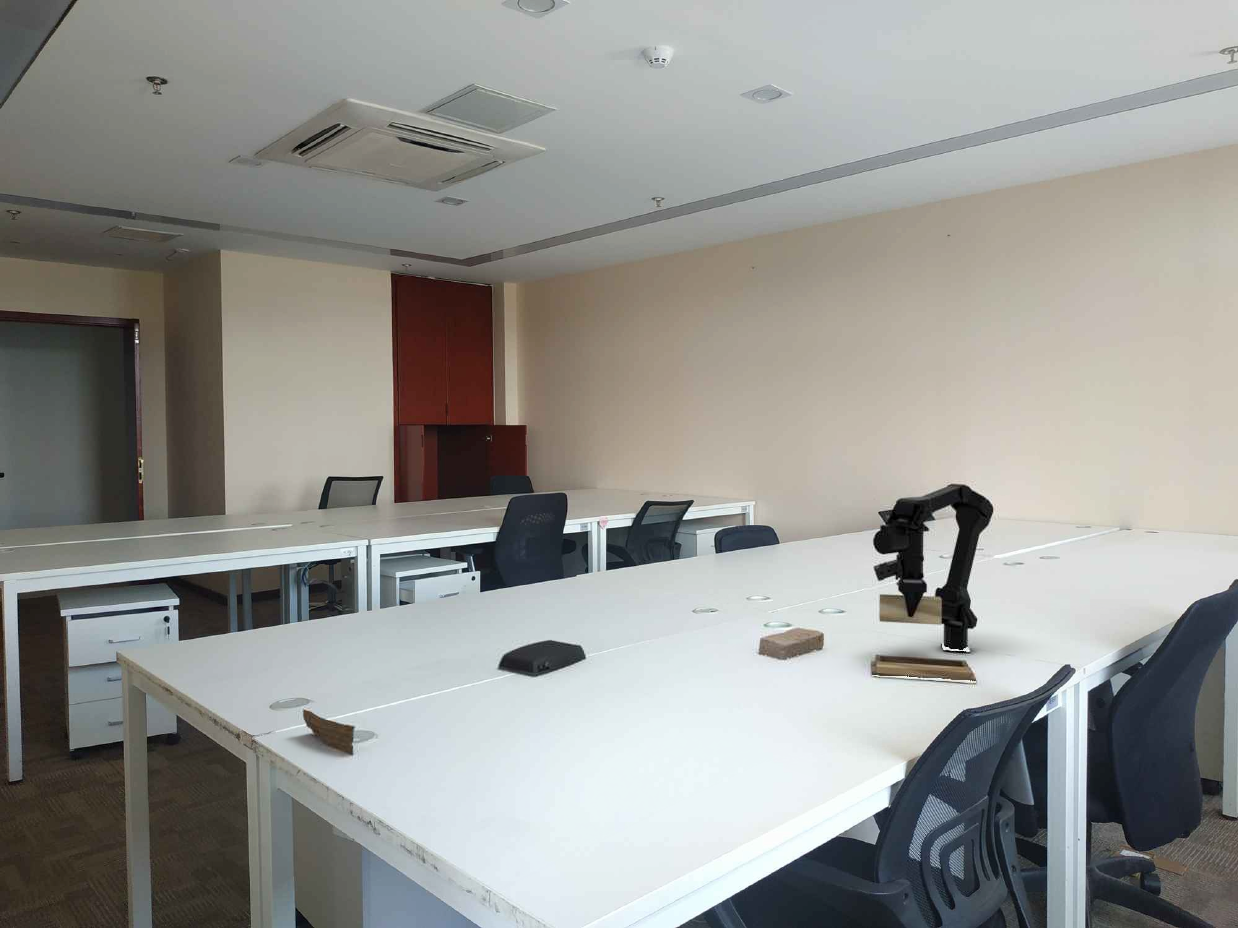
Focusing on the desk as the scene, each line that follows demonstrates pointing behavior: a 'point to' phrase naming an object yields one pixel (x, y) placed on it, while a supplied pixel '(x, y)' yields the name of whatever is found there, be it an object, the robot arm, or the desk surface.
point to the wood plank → (331, 732)
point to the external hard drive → (541, 658)
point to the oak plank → (896, 611)
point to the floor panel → (918, 661)
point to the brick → (791, 643)
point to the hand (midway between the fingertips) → (909, 615)
